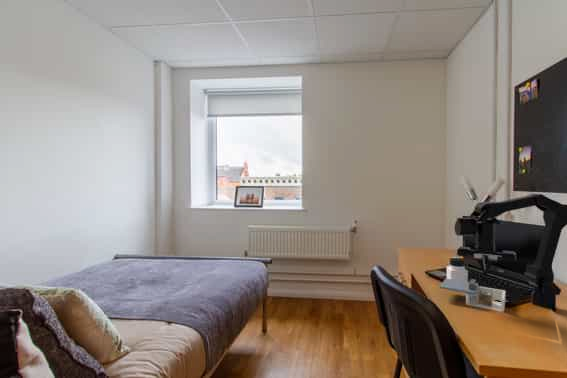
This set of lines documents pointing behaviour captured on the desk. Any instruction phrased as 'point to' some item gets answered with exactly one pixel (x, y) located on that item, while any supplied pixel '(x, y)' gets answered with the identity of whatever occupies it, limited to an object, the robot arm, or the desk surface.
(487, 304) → the letter cube
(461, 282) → the slate lid
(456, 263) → the medicine bottle
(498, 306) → the box
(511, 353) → the desk surface
